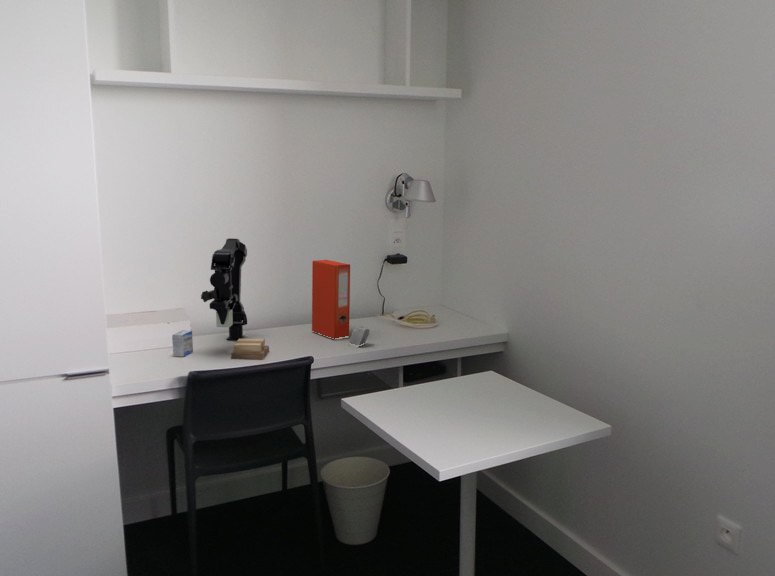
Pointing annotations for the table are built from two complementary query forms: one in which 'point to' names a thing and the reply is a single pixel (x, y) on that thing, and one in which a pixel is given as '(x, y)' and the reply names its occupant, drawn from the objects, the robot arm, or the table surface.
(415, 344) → the table surface
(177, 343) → the medicine box
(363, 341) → the mineral specimen
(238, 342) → the oak slab
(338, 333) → the file binder
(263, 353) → the walnut slab
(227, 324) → the sage block
